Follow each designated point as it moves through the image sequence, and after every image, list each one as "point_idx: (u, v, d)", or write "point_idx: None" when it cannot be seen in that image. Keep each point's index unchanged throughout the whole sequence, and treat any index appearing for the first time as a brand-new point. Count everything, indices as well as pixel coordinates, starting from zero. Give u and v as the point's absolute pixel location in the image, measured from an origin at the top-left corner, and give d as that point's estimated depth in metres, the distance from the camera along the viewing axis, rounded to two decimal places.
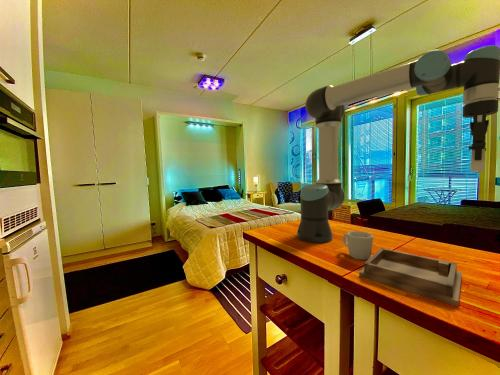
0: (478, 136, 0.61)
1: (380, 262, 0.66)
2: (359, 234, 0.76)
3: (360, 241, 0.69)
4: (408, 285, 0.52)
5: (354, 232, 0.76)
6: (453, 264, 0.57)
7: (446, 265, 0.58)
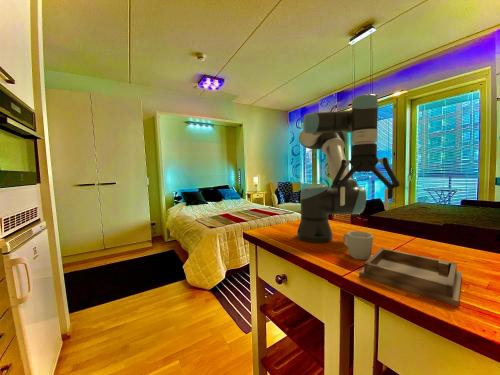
0: None
1: (380, 262, 0.66)
2: (359, 234, 0.76)
3: (360, 241, 0.69)
4: (408, 285, 0.52)
5: (354, 232, 0.76)
6: (453, 264, 0.57)
7: (446, 265, 0.58)
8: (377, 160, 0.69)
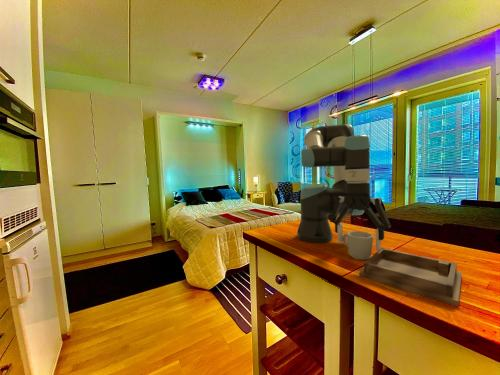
0: None
1: (380, 262, 0.66)
2: (359, 234, 0.76)
3: (360, 241, 0.69)
4: (408, 285, 0.52)
5: (354, 232, 0.76)
6: (453, 264, 0.57)
7: (446, 265, 0.58)
8: (370, 200, 0.69)
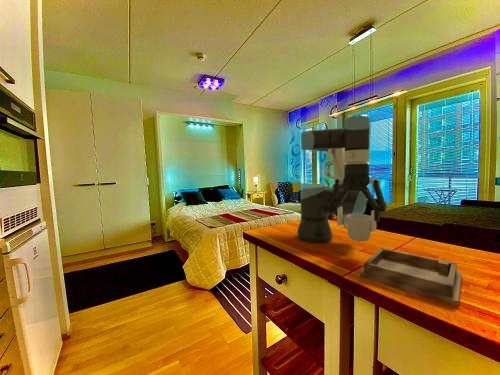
0: None
1: (380, 262, 0.66)
2: (358, 217, 0.76)
3: (359, 223, 0.69)
4: (408, 285, 0.52)
5: (354, 215, 0.76)
6: (453, 264, 0.57)
7: (446, 265, 0.58)
8: (368, 181, 0.69)
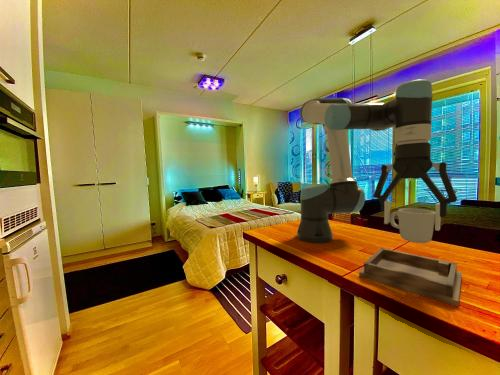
0: None
1: (380, 262, 0.66)
2: (413, 212, 0.59)
3: (420, 219, 0.53)
4: (408, 285, 0.52)
5: (406, 209, 0.60)
6: (453, 264, 0.57)
7: (446, 265, 0.58)
8: (431, 164, 0.54)
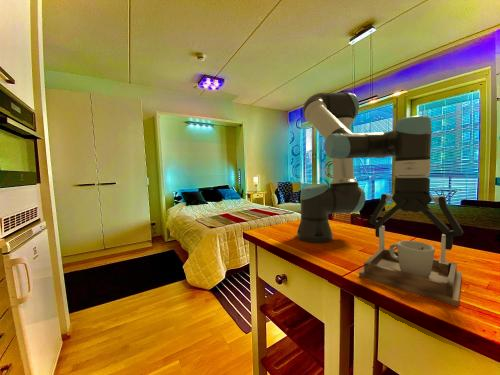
0: None
1: (380, 262, 0.66)
2: (412, 245, 0.60)
3: (419, 255, 0.54)
4: (408, 285, 0.52)
5: (405, 242, 0.61)
6: (453, 264, 0.57)
7: (446, 265, 0.58)
8: (430, 199, 0.54)
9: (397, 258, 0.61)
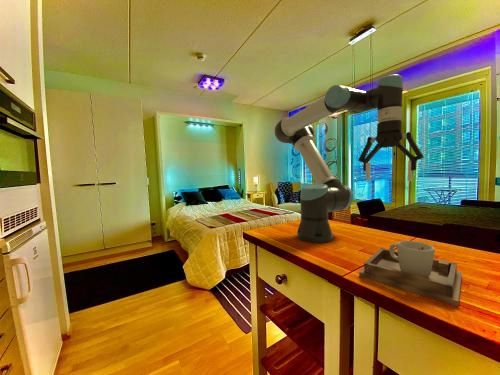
0: None
1: (380, 262, 0.66)
2: (412, 245, 0.60)
3: (419, 255, 0.54)
4: (408, 285, 0.52)
5: (405, 242, 0.61)
6: (453, 264, 0.57)
7: (446, 265, 0.58)
8: (401, 135, 0.75)
9: (397, 258, 0.61)
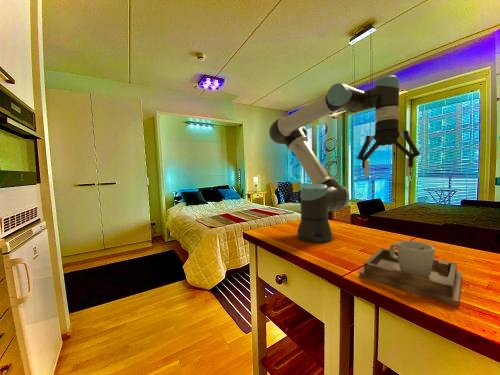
0: None
1: (380, 262, 0.66)
2: (412, 245, 0.60)
3: (419, 255, 0.54)
4: (408, 285, 0.52)
5: (405, 242, 0.61)
6: (453, 264, 0.57)
7: (446, 265, 0.58)
8: (398, 133, 0.78)
9: (397, 258, 0.61)
